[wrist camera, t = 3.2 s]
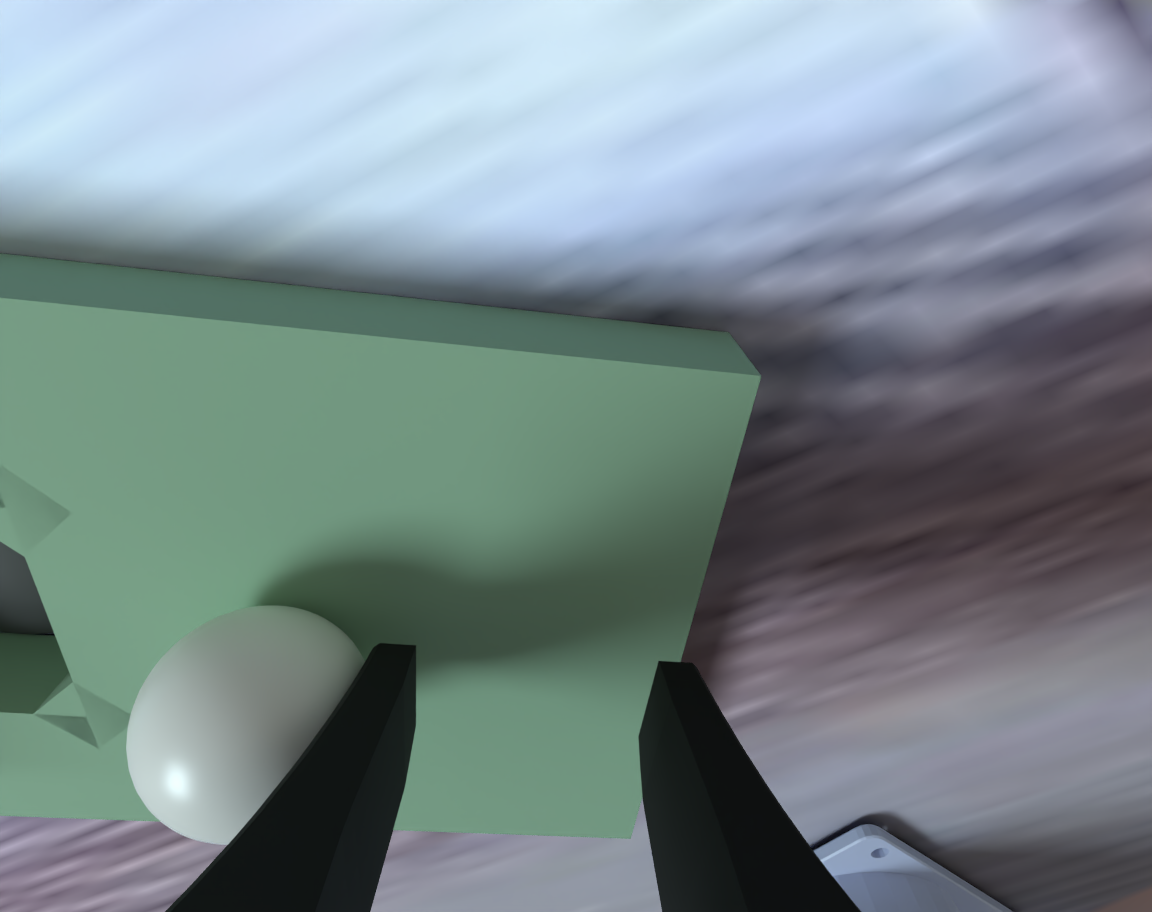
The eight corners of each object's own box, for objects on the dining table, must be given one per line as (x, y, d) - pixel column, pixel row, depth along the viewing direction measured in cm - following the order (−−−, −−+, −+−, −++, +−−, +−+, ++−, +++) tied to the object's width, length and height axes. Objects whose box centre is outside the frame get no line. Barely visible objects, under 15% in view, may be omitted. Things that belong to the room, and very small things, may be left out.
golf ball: (439, 642, 11) (364, 835, 8) (340, 729, 13) (245, 921, 10) (273, 527, 11) (119, 694, 7) (186, 634, 12) (27, 812, 9)
